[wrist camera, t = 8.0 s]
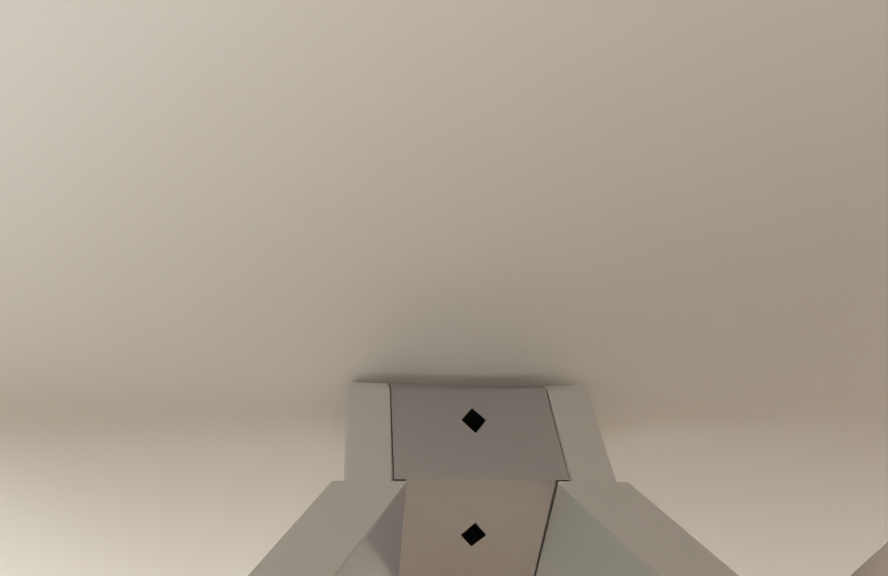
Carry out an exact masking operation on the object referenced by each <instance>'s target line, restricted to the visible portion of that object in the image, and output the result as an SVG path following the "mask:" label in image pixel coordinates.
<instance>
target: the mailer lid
mask: <svg viewBox="0 0 888 576" xmlns="http://www.w3.org/2000/svg"><path fill="white" fill-rule="evenodd" d="M348 382H368V383H388V385H390V383H411V384H437V385H462V386H540V387H543V386H582V387H583V388H584V389H585V390H586V391H587V393H588V396H589V400H590V403H591V406H592V409H593V412H594V415H595V418H596V421H597V424H598V427H599V430H600V433H601V436H602V439H603V442H604V445H605V448H606V451H607V455H608V458H609V461H610V464H611V467H612V470H613V473H614V476H615V479H616V482H629V483H630V484H631V485H632V486H633V487H635V488H636V489H637V490H638V491H639V492H640V493H642V494H643V495H644V496H645V497H646V498H648V499H649V500H650V501H651V502H652V503H653V504H655V505H656V506H657V507H658V508H659V509H661V510H662V511H663V512H664V513H665V514H666V515H668V516H669V517H670V518H671V519H672V520H674V521H675V522H676V523H677V524H678V525H679V526H681V527H682V528H683V529H684V530H685V531H687V532H688V533H689V534H690V535H691V536H692V537H694V538H695V539H696V540H697V541H698V542H700V543H701V544H702V545H703V546H704V547H705V548H707V549H708V550H709V551H710V552H711V553H713V554H714V555H715V556H716V557H717V558H718V559H720V560H721V561H722V562H723V563H724V564H726V565H727V566H728V567H729V568H730V569H731V570H733V571H734V572H735V573H736V574H737V575H739V576H850V575H851V574H852V573H854V572H855V571H856V570H857V569H858V568H859V567H860V566H861V565H862V564H864V563H865V562H866V561H867V560H868V559H869V558H870V557H871V556H872V555H873V554H875V553H876V552H877V551H878V550H879V549H880V548H881V547H883V546H884V545H885V544H886V543H887V542H888V0H0V576H248V575H249V574H250V573H251V572H252V570H253V569H254V568H255V567H256V566H257V565H258V564H259V563H260V561H261V560H262V559H263V558H264V557H265V556H266V555H267V553H268V552H269V551H270V550H271V549H272V548H273V547H274V546H275V544H276V543H277V542H278V541H279V540H280V539H281V538H282V537H283V535H284V534H285V533H286V532H287V531H288V530H289V529H290V527H291V526H292V525H293V524H294V523H295V522H296V521H297V520H298V518H299V517H300V516H301V515H302V514H303V513H304V512H305V511H306V509H307V508H308V507H309V506H310V505H311V504H312V503H313V501H314V500H315V499H316V498H317V497H318V496H319V495H320V494H321V492H322V491H323V490H324V489H325V488H326V487H327V486H328V485H329V483H330V482H331V481H344V465H345V433H346V401H347V387H348Z"/></svg>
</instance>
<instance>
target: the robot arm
mask: <svg viewBox="0 0 888 576" xmlns="http://www.w3.org/2000/svg"><path fill="white" fill-rule="evenodd" d="M248 576H739V575H737V574H736V573H735V572H734V571H733V570H731V569H730V568H729V567H728V566H727V565H726V564H724V563H723V562H722V561H721V560H720V559H718V558H717V557H716V556H715V555H714V554H713V553H711V552H710V551H709V550H708V549H707V548H705V547H704V546H703V545H702V544H701V543H700V542H698V541H697V540H696V539H695V538H694V537H692V536H691V535H690V534H689V533H688V532H687V531H685V530H684V529H683V528H682V527H681V526H679V525H678V524H677V523H676V522H675V521H674V520H672V519H671V518H670V517H669V516H668V515H666V514H665V513H664V512H663V511H662V510H661V509H659V508H658V507H657V506H656V505H655V504H653V503H652V502H651V501H650V500H649V499H648V498H646V497H645V496H644V495H643V494H642V493H640V492H639V491H638V490H637V489H636V488H635V487H633V486H632V485H631V484H630V483H629V482H616V479H615V476H614V473H613V470H612V467H611V464H610V461H609V458H608V455H607V451H606V448H605V445H604V442H603V439H602V436H601V433H600V430H599V427H598V424H597V421H596V418H595V415H594V412H593V409H592V406H591V403H590V400H589V396H588V393H587V391H586V390H585V389H584V388H583V387H582V386H543V387H540V386H462V385H437V384H411V383H390V385H388V383H368V382H348V387H347V401H346V433H345V465H344V481H331V482H330V483H329V485H328V486H327V487H326V488H325V489H324V490H323V491H322V492H321V494H320V495H319V496H318V497H317V498H316V499H315V500H314V501H313V503H312V504H311V505H310V506H309V507H308V508H307V509H306V511H305V512H304V513H303V514H302V515H301V516H300V517H299V518H298V520H297V521H296V522H295V523H294V524H293V525H292V526H291V527H290V529H289V530H288V531H287V532H286V533H285V534H284V535H283V537H282V538H281V539H280V540H279V541H278V542H277V543H276V544H275V546H274V547H273V548H272V549H271V550H270V551H269V552H268V553H267V555H266V556H265V557H264V558H263V559H262V560H261V561H260V563H259V564H258V565H257V566H256V567H255V568H254V569H253V570H252V572H251V573H250V574H249V575H248Z"/></svg>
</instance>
